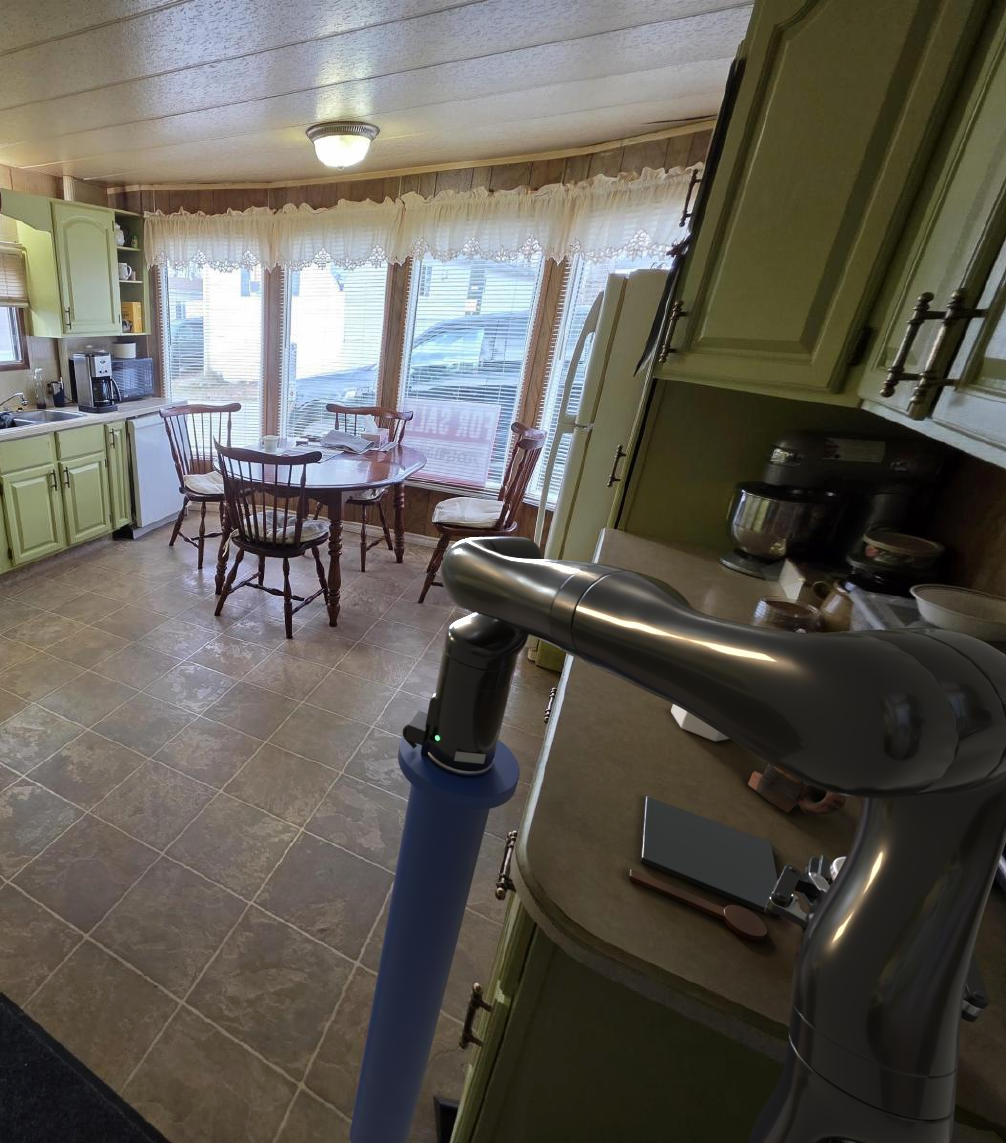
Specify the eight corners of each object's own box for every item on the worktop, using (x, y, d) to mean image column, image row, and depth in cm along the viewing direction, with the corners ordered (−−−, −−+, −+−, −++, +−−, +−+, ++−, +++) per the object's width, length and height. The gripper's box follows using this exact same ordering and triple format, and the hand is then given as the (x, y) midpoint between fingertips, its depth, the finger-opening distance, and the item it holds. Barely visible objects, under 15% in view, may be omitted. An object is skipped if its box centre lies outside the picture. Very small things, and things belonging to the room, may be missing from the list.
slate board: (640, 862, 71) (642, 857, 71) (644, 800, 80) (646, 796, 80) (781, 920, 65) (784, 915, 64) (768, 846, 74) (771, 841, 74)
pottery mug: (727, 771, 87) (766, 726, 85) (786, 808, 86) (827, 763, 85) (786, 815, 75) (833, 764, 73) (856, 858, 74) (905, 808, 73)
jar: (705, 745, 91) (732, 678, 87) (658, 713, 99) (681, 649, 94) (750, 736, 94) (779, 670, 89) (701, 706, 101) (726, 643, 96)
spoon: (627, 887, 68) (629, 882, 68) (629, 865, 71) (631, 860, 70) (766, 947, 62) (768, 942, 61) (762, 920, 65) (764, 916, 64)
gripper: (1028, 1053, 42) (998, 905, 53) (769, 917, 52) (789, 814, 63) (974, 1114, 45) (956, 961, 56) (737, 975, 55) (762, 867, 66)
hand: (868, 884), depth 59 cm, fingers closed on smoothie, 6 cm apart
